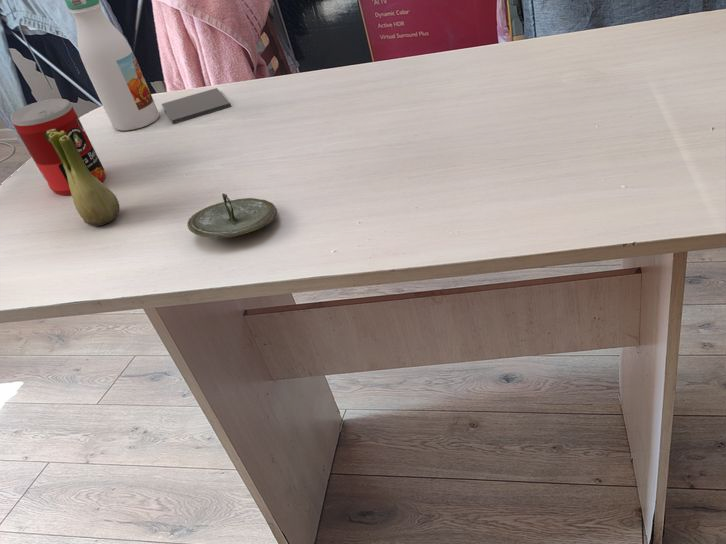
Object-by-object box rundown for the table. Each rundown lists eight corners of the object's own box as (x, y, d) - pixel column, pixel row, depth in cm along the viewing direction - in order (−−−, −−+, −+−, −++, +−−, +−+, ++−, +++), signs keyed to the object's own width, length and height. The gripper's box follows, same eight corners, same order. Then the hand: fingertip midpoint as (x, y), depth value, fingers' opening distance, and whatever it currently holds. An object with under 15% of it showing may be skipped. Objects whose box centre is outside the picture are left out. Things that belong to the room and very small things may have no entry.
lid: (188, 262, 80) (169, 232, 76) (206, 203, 86) (189, 172, 82) (274, 257, 80) (260, 227, 75) (287, 198, 85) (275, 167, 81)
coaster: (173, 123, 112) (171, 120, 112) (162, 107, 119) (161, 103, 119) (231, 106, 115) (230, 102, 115) (218, 91, 122) (216, 87, 122)
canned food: (81, 198, 94) (39, 122, 87) (39, 194, 97) (-5, 120, 90) (119, 172, 99) (82, 98, 92) (78, 169, 102) (40, 97, 95)
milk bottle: (131, 134, 111) (70, 2, 98) (104, 128, 114) (42, 0, 101) (169, 115, 115) (115, -13, 102) (142, 110, 119) (87, -15, 106)
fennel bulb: (87, 214, 90) (39, 128, 82) (125, 204, 91) (81, 118, 83) (84, 234, 86) (33, 145, 78) (124, 224, 87) (77, 134, 79)
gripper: (69, -158, 70) (127, -12, 79) (-157, -123, 64) (-66, 31, 73) (75, -157, 66) (135, -3, 75) (-167, -119, 60) (-69, 44, 69)
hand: (35, 14), depth 74 cm, fingers open, 8 cm apart
